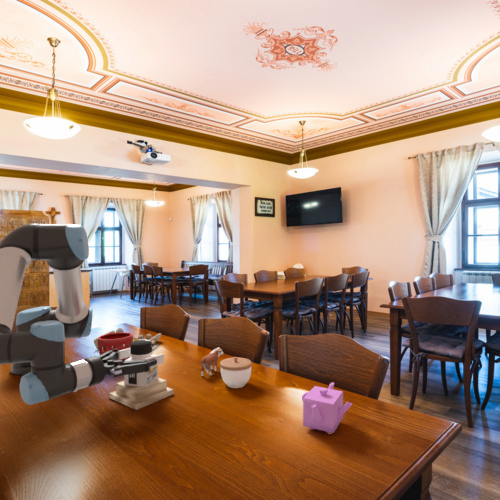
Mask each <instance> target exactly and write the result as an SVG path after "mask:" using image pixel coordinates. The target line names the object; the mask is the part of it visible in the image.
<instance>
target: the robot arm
mask: <svg viewBox="0 0 500 500" xmlns="http://www.w3.org/2000/svg"><path fill="white" fill-rule="evenodd" d="M87 234H88V233H87V232H86V229H85V227H84V226H82V225H81V224H73V223H67V224H66V223H65V224H63V223H62V224H59V223H28V224H27V223H26V224H24V225H21V226H18V227H16V228H14V229H13V230H11V231H9V233H8V234H7V235H6V236H4V237H3V238H2V239H1V240H0V365H7V364H8V365H9V364H10V370H11V371H10V372H11V374H14V375H21V378H20V383H19V394H20V396H21V397H20V398H21V400H22V401H23V402H24V403H25V404H27V405H36V404H39V403H43V402H47V401H49V400H53V399H55V398H59V397H61V396H64V395H66V394H67V395H68V394H69V393H70V394H71V393H73V392H74V393H77V392H78V391H79V390H82V389H85V388H88V387H92V386H96V385H98V384H100V383H102V382H103V381H104V380H105V378H106V376H112V375H113V377H114V378H119V377H122V376H124V375H128V374H135V373H141V372H148V371H150V367H152V366H155V365H158V366H159V365H161V364H164V362H165V360H164V359H165V357H164V355H165V354H164V353H159V354H155V355H156V356H153V357H149V358H146V359H145V360H141V361H127V362H124V361H123V360H120V359H124V358H127V357H131V356H130V348H127V349H123V350H120V351H118V352H117V349H113V352H112V351H111V350H110V351H108V352H106V353H104V354H102V355H100V354H99V355H98V356H97V355H95V356H90V357H87V358H84V359H78V360H74V361H71V362H67V363H66V340H69V339H80V338H87V337H89V336H90V334H91V332H92V324H93V308H92V307H89V306H88V305H87V303H86V302H84V294H83V293H84V292H83V283H82V282H83V281H82V269H81V266H82V265H83V264H84V263H85V260H87V259H88V258H89V255H90V252H89V251H90V249H89V247H90V246H89V240H88V235H87ZM35 260H36V261H46V264H47V265H48V266H49V268H51V269H52V271H53V278H54V284H55V291H56V298H57V305H58V306H57V307H56V309H52V306H50V305H47V306H45V305H43V306H37V307H32V308H28V309H24V310H22V311H19V312H18V313H17V309H18V304H19V299H20V296H21V291H22V286H23V282H24V277H25V273H26V269H27V268H28V267H29V266H30V265H31V264H32V261H35ZM15 317H16V321H15ZM14 322H15V331H12V330H13V328H14V327H13V326H14ZM117 358H118V359H119V360H117ZM119 363H120V366H119Z"/></svg>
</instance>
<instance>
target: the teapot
mask: <svg viewBox="0 0 500 500" xmlns="http://www.w3.org/2000/svg"><path fill="white" fill-rule="evenodd" d="M334 386H335V382H333V381H332V382H330V383H329V386H328V388H327V387H323V386H318V385H317V386H316V385H314V386H313V388H311V390H309V391H305V392H304V393H303V394H302V396H301V400H302V426H303V427H307V428H308V427H309V428H310V429H315V430H318V431H323V432H325V433H326V432H327V433H334V434H335V432H336V430H337V429H338V427H339V425H340V423H341V422H342V420H343V418H344V414H345V413H346V412H347V411H348V410H349V409H350V407H352V405H353V404H352V403H351V402H349V401H347V402H346V403H344V391H343V390H337V389H334ZM310 429H309V430H310ZM327 433H326V434H327Z"/></svg>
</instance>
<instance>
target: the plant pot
mask: <svg viewBox="0 0 500 500" xmlns="http://www.w3.org/2000/svg"><path fill="white" fill-rule="evenodd" d="M104 334H105V335H104ZM104 334H103V335H100V336H98V337H97V338H98V349H97V350H98V353H99V356H100V355H102V354H104V353H106V352H108V351H110V350H111V351H112V352H113V349H117V352H118V351H120V350H123V349H127V348H130V344H131V343H132V342H133V338H134V335H133V333H132V332H120V333H110V334H106V333H104ZM123 345H125V346H123ZM102 346H103V349H102ZM112 347H113V348H112ZM128 358H130V357H127V358H124V359H120V360H123V361H125V360H126V359H128ZM117 360H119V359H118V358H117ZM119 366H120V363H119Z"/></svg>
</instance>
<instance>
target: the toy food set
mask: <svg viewBox="0 0 500 500" xmlns="http://www.w3.org/2000/svg"><path fill="white" fill-rule="evenodd" d="M120 332H124V329H123V327H118V328H117V329H116V331H115V330H111V331H109V332H106V333H104V334H103V335H105V334H110V333H120ZM161 336H162V333H161V332H159V333H158V334H156V335H154V336H152V334H151V333H148V334H146V337H144V335H143V334H140V335H139V334H138V336H137V338H135V337H133V341H136V340H141V339H146V340H150V341H151V342H152V345H154V344H155V343H156V342H158V341H159V340H160V339H161ZM93 344H94V346H95V348H96V350H98V337H96V338H94V339H93ZM123 346H125V345H123ZM112 348H113V347H112ZM102 349H103V346H102Z"/></svg>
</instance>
